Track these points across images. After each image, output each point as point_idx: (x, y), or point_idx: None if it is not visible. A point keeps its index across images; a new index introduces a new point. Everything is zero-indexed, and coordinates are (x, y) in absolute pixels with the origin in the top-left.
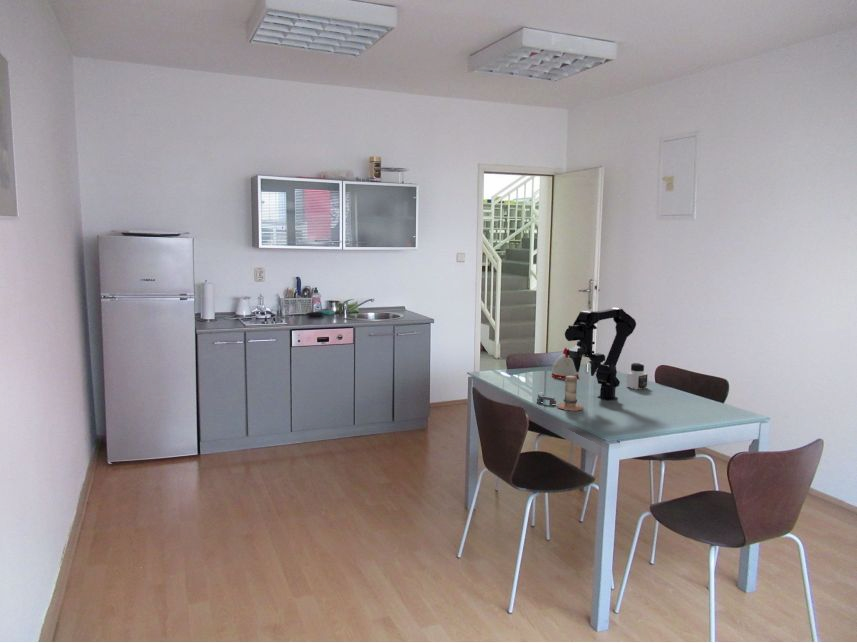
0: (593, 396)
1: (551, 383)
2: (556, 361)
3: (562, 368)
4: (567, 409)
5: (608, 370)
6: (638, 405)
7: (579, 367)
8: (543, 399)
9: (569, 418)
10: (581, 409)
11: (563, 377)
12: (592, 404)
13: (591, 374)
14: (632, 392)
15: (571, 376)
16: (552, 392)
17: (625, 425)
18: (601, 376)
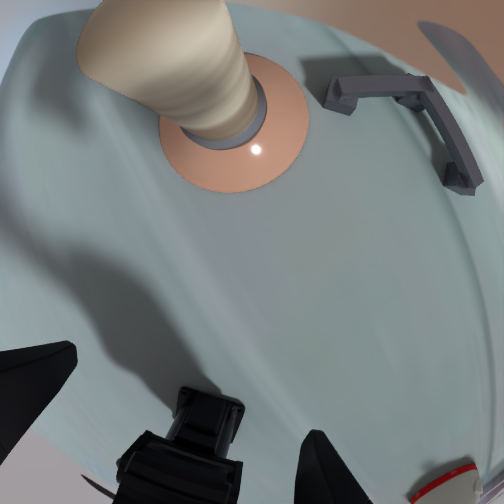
0: (270, 408)
1: (475, 424)
2: (477, 499)
3: (457, 493)
4: None
5: (116, 494)
6: (83, 373)
7: (295, 492)
8: (404, 95)
9: None
10: (161, 129)
11: (446, 476)
12: (183, 276)
13: (57, 344)
14: None
15: (148, 32)
16: (457, 336)
17: (10, 120)
18: (176, 474)
